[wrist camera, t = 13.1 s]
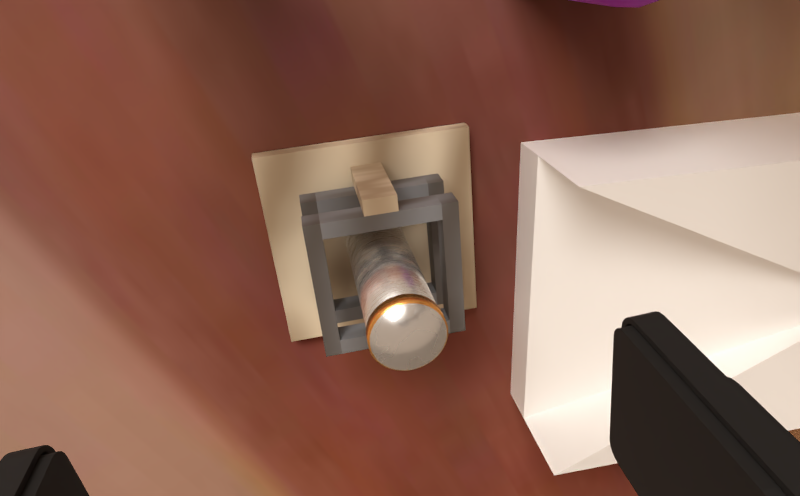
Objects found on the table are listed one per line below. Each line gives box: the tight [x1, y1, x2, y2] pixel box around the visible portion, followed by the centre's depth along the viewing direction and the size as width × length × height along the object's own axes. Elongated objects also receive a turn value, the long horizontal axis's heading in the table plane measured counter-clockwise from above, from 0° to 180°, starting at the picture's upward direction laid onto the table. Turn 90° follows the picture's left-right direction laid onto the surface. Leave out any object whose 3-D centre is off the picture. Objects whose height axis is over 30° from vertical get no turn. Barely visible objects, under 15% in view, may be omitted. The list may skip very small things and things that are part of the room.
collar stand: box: [252, 123, 477, 357], centre depth 39 cm, size 14×14×7 cm
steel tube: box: [346, 227, 448, 371], centre depth 36 cm, size 4×4×12 cm
